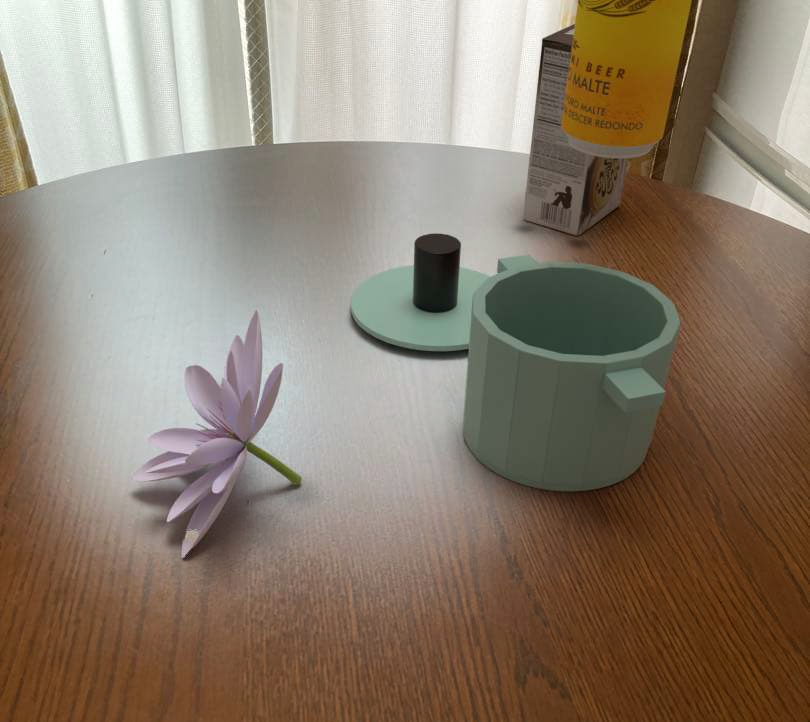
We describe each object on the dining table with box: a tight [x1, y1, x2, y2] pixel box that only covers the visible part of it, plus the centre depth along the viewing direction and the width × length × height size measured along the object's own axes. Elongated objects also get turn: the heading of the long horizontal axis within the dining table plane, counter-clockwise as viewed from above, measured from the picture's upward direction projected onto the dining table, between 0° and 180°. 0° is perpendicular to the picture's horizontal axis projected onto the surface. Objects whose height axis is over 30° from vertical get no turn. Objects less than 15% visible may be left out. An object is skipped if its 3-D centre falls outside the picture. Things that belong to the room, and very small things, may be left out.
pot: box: [462, 254, 681, 492], centre depth 60 cm, size 13×18×10 cm
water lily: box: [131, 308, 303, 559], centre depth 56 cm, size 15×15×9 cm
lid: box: [350, 232, 492, 352], centre depth 73 cm, size 14×14×6 cm
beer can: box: [561, 0, 693, 159], centre depth 51 cm, size 6×6×15 cm
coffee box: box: [522, 23, 629, 237], centre depth 85 cm, size 9×6×16 cm
